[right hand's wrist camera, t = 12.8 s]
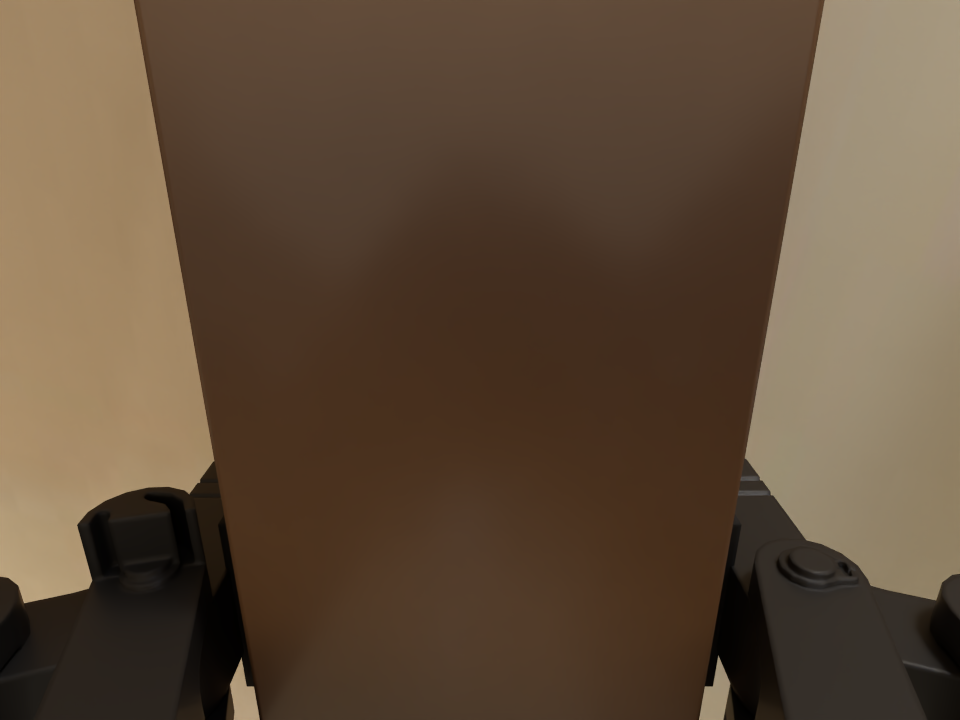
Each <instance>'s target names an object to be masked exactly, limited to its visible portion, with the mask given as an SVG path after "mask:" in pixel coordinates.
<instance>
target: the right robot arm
mask: <svg viewBox="0 0 960 720" xmlns="http://www.w3.org/2000/svg"><path fill="white" fill-rule="evenodd" d="M77 526H78V530H79V533H80V537H81V541H82V544H83V548H84V551H85V555H86V559H87V562H88V566H89V570H90V573H91V577H92V583H91V585H90V587H89V589H86V590H83V591H79V592H75V593H71V594H66V595H62V596H57V597H52V598H48V599H43V600H38V601H33V602H29V603H24V602H23V599H22V596H21V593H20V590H19V587H18V585H17V584H15V583H14V582H13V581H11V580H10V579H9V578H5V577H0V720H234V706H233V699H232V694H231V689H230V683H231V681H232V679H233V676H234V674H235V672H236V669H237V667H238V664H239V662H240V660H241V657H242V662H243V668H244V673H245V679H246V684H247V686H254V683H253V677H252V671H251V666H250V660H249V654H248V649H247V643H246V637H245V631H244V626H243V620H242V614H241V609H240V603H239V597H238V591H237V586H236V580H235V574H234V569H233V563H232V557H231V552H230V546H229V540H228V534H227V529H226V523H225V517H224V512H223V506H222V500H221V494H220V489H219V483H218V477H217V472H216V466H215V461H214V462H213V463H212V464H211V466H210V467H209V468H208V470H207V471H206V472H205V474H204V475H203V477H202V478H201V479H200V483H197V485H196V486H195V487H194V489H193V490H192V492H191V493H190V495H189V494H188V493H187V492H186V491H184V490H180V489H175V488H171V487H154V488H145V489H140V490H136V491H131V492H126V493H124V494H121V495H119V496H116V497H114V498H112V499H109V500H107V501H105V502H103V503H101V504H100V505H98V506H97V507H95V508H94V509H92V510H91V511H89V512H88V513H87V514H86V515H85V516H84V518H83V519H82V520H81V521H80V522H79V523H78V525H77ZM718 655H719V658H720V660H721V662H722V665H723V667H724V669H725V672H726V674H727V676H728V679H729V681H730V689H729V694H728V699H727V704H726V709H725V715H724V720H960V574H956V575H952V576H950V577H949V578H948V579H947V580H945V581H944V582H943V583H942V585H941V588H940V591H939V594H938V597H937V600H936V601H935V600H930V599H926V598H921V597H916V596H911V595H907V594H902V593H897V592H892V591H888V590H884V589H880V588H876V587H873V586H870V584H869V581H868V579H867V578H866V577H865V575H864V574H863V572H862V571H861V570H860V568H859V567H858V566H857V565H856V564H855V563H853V562H852V561H851V560H849V559H848V558H847V557H845V556H844V555H843V554H841V553H839V552H837V551H835V550H833V549H830V548H828V547H826V546H824V545H822V544H818V543H814V542H810V541H806V539H805V538H804V537H803V535H802V534H801V533H800V531H799V530H798V529H797V527H796V526H795V524H794V523H793V522H792V520H791V519H790V518H789V516H788V515H787V514H786V512H785V511H784V510H783V508H782V507H781V506H780V504H779V503H778V501H777V500H776V499H775V497H774V496H773V495H770V491H769V489H768V488H767V487H766V485H765V484H764V483H763V481H760V477H759V476H758V474H757V473H756V472H755V470H754V469H753V468H752V466H751V465H750V464H749V462H748V461H747V460H746V459H745V458H744V464H743V470H742V475H741V481H740V487H739V493H738V498H737V504H736V510H735V516H734V521H733V527H732V533H731V538H730V544H729V550H728V556H727V561H726V567H725V573H724V579H723V584H722V590H721V596H720V601H719V607H718V613H717V619H716V624H715V630H714V636H713V642H712V647H711V653H710V659H709V664H708V670H707V676H706V682H705V686H713V682H714V676H715V671H716V665H717V660H718Z"/></svg>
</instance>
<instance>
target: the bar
mask: <svg viewBox="0 0 960 720" xmlns="http://www.w3.org/2000/svg"><path fill="white" fill-rule="evenodd" d="M134 4H135V10H136V15H137V21H138V27H139V32H140V38H141V44H142V49H143V55H144V61H145V67H146V72H147V78H148V84H149V89H150V95H151V101H152V107H153V112H154V118H155V124H156V129H157V135H158V141H159V146H160V152H161V158H162V164H163V169H164V175H165V181H166V186H167V192H168V198H169V204H170V209H171V215H172V221H173V226H174V232H175V238H176V243H177V249H178V255H179V261H180V266H181V272H182V278H183V283H184V289H185V295H186V301H187V306H188V312H189V318H190V323H191V329H192V335H193V340H194V346H195V352H196V358H197V363H198V369H199V375H200V380H201V386H202V392H203V397H204V403H205V409H206V415H207V420H208V426H209V432H210V437H211V443H212V449H213V455H214V460H215V466H216V472H217V477H218V483H219V489H220V494H221V500H222V506H223V512H224V517H225V523H226V529H227V534H228V540H229V546H230V552H231V557H232V563H233V569H234V574H235V580H236V586H237V591H238V597H239V603H240V609H241V614H242V620H243V626H244V631H245V637H246V643H247V649H248V654H249V660H250V666H251V671H252V677H253V683H254V688H255V694H256V700H257V706H258V711H259V717H260V720H699V716H700V710H701V705H702V699H703V693H704V687H705V682H706V676H707V670H708V664H709V659H710V653H711V647H712V642H713V636H714V630H715V624H716V619H717V613H718V607H719V601H720V596H721V590H722V584H723V579H724V573H725V567H726V561H727V556H728V550H729V544H730V538H731V533H732V527H733V521H734V516H735V510H736V504H737V498H738V493H739V487H740V481H741V475H742V470H743V464H744V458H745V452H746V447H747V441H748V435H749V430H750V424H751V418H752V412H753V407H754V401H755V395H756V389H757V384H758V378H759V372H760V367H761V361H762V355H763V349H764V344H765V338H766V332H767V326H768V321H769V315H770V309H771V303H772V298H773V292H774V286H775V281H776V275H777V269H778V263H779V258H780V252H781V246H782V240H783V235H784V229H785V223H786V218H787V212H788V206H789V200H790V195H791V189H792V183H793V177H794V172H795V166H796V160H797V155H798V149H799V143H800V137H801V132H802V126H803V120H804V114H805V109H806V103H807V97H808V91H809V86H810V80H811V74H812V69H813V63H814V57H815V51H816V46H817V40H818V34H819V28H820V23H821V17H822V11H823V6H824V0H134Z"/></svg>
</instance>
